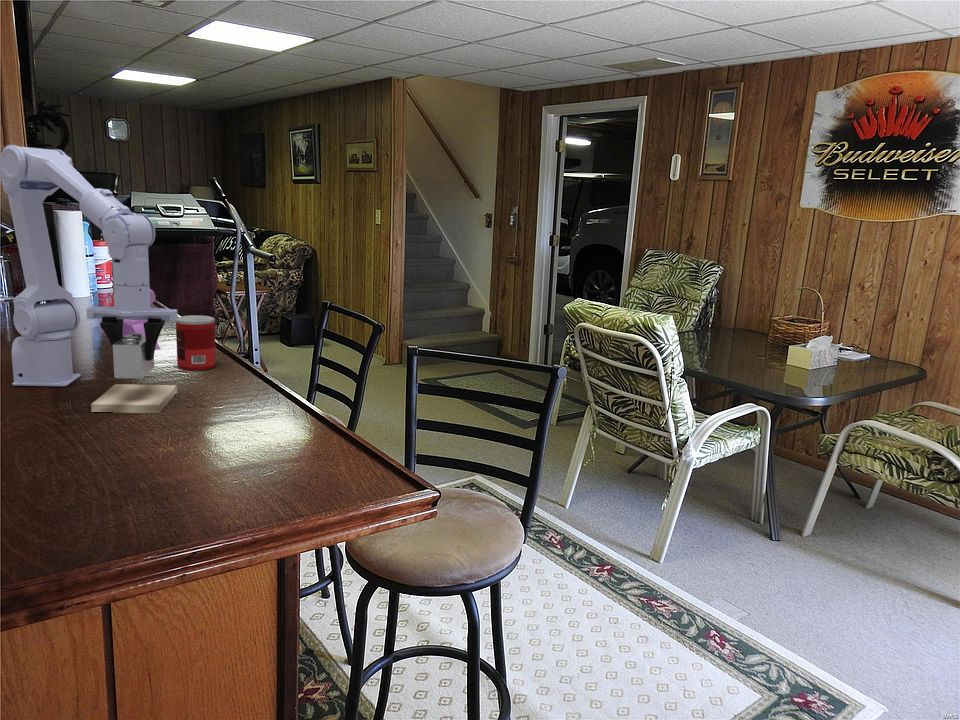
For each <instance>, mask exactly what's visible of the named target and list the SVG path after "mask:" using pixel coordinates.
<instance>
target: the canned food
mask: <svg viewBox="0 0 960 720" xmlns="http://www.w3.org/2000/svg"><path fill="white" fill-rule="evenodd" d="M175 336H176V338H175V339H176V361H177V363H176V364H177V367H178V368H179V370H181V369H182V371H185V370H188V371H187V372H195V371H194V370H204V371H206V370H205V369H209V370H211V369H210V368H212V367H213V368H215V367H216V366H215V365H216V322H215V318H214V317H212V316H209V315H200V314H199V315H195V314H194V315H192V314H191V315H184V316H183V315H181V316H178V320H177V321H175ZM213 368H212V369H213Z"/></svg>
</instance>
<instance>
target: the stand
mask: <svg viewBox="0 0 960 720" xmlns="http://www.w3.org/2000/svg"><path fill="white" fill-rule="evenodd" d="M175 394H176V395H177V394H178V385H177V384H176V385H174V384H133V383H132V384H128V383H127V384H123V383H122V384H119V383H116V384H114V385H113V386H111V387H110V388H109V389H108V390H107V391H105V392H104V393H103V394H102V395H100V396H99V397H97V399H96V400H94V401H93V402H91V404H90V407H91V411H90V412H91V413H92V412H113V413H112V414H114V413H115V414H160V413H162V411H164V409H165V408H164V407H167V405H168V404H169V403H170V402H171V401H172V399H173V398H174V397H175V396H176V395H175ZM174 395H175V396H174ZM169 401H170V402H169ZM168 402H169V403H168Z"/></svg>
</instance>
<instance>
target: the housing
mask: <svg viewBox="0 0 960 720" xmlns="http://www.w3.org/2000/svg"><path fill="white" fill-rule="evenodd" d="M112 355H113V372H114V373H113V375H114V379H143V378H144V377H146V376H147V374H149V373H150V372H151V370H153V369H154V368H155V357H154V358H153V359H152V360H151V361H147V358H146V337H145V335H142V334H141V333H135V332H133V334H132V335H126V336H124V337H122V338H121V339H120V340H119V341H117V342H116V343H114V344H113V348H112Z"/></svg>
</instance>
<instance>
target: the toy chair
mask: <svg viewBox="0 0 960 720" xmlns="http://www.w3.org/2000/svg"><path fill="white" fill-rule="evenodd" d="M155 301H156V294H155V292H154V290H153V289H151V288H150V306H151V305H152V304H153V303H154V302H155ZM140 317H144V316H140ZM145 322H148V320H130V319H124V320H123V335H122V337H124V336H126V335H132V334H133V333H141V334H142V335H145V331H144V326H143V324H144V323H145ZM133 331H134V332H133ZM159 350H161V347H160V346H159V344H158V342H157V343H156V347H155V351H159Z"/></svg>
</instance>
